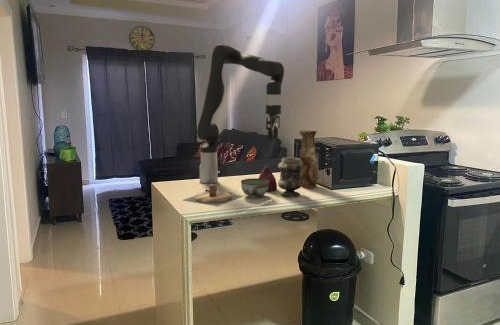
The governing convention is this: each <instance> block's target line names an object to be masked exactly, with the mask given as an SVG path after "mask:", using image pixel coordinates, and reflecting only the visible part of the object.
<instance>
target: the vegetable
mask: <svg viewBox="0 0 500 325" xmlns="http://www.w3.org/2000/svg"><path fill="white" fill-rule="evenodd" d="M258 178H259V179H266V180H268V181H270V182H269V187H268V190H267V192H266V193H272V192H275V191H277V190H278V182H277V179H276V178H275V175H274V174H273V173H272V169H270V166H269V165H268V164H265V166H264V168H263V170H262V171H261V172H260V173H259V176H258Z"/></svg>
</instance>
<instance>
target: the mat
mask: <svg viewBox="0 0 500 325" xmlns="http://www.w3.org/2000/svg"><path fill="white" fill-rule="evenodd" d="M194 196H195V195H194ZM194 196H191V197H188V198H185V199H182V201H183V202H189V203H194V204H195V203H196V204H201V205H207V206H208V205H209V206H214V207H219V206H222V205H225V204H227V203H229V202H232V201H235V200H238V199H240V198H243V197H244V196H243V195H236V194H231V199H230V200H228V201H225V202H219V203H203V202H198V201H196V200H195V199H194Z"/></svg>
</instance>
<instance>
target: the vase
mask: <svg viewBox="0 0 500 325" xmlns="http://www.w3.org/2000/svg"><path fill="white" fill-rule="evenodd" d="M298 132H299V134H300V136H301V149H300V158H299V160H300V163H301V164H302V165H303V168H302V169H301V170H300V180H301V181H302V182H303V185H302V187H301V188H306V189H312V188H313V189H315V188H317V187H318V185H317V182H318V179H319V167H318V158H317V152H316V143H315V136H316V134H317V132H318V130H317V129H312V130H311V129H308V130H307V129H300V130H298Z"/></svg>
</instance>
